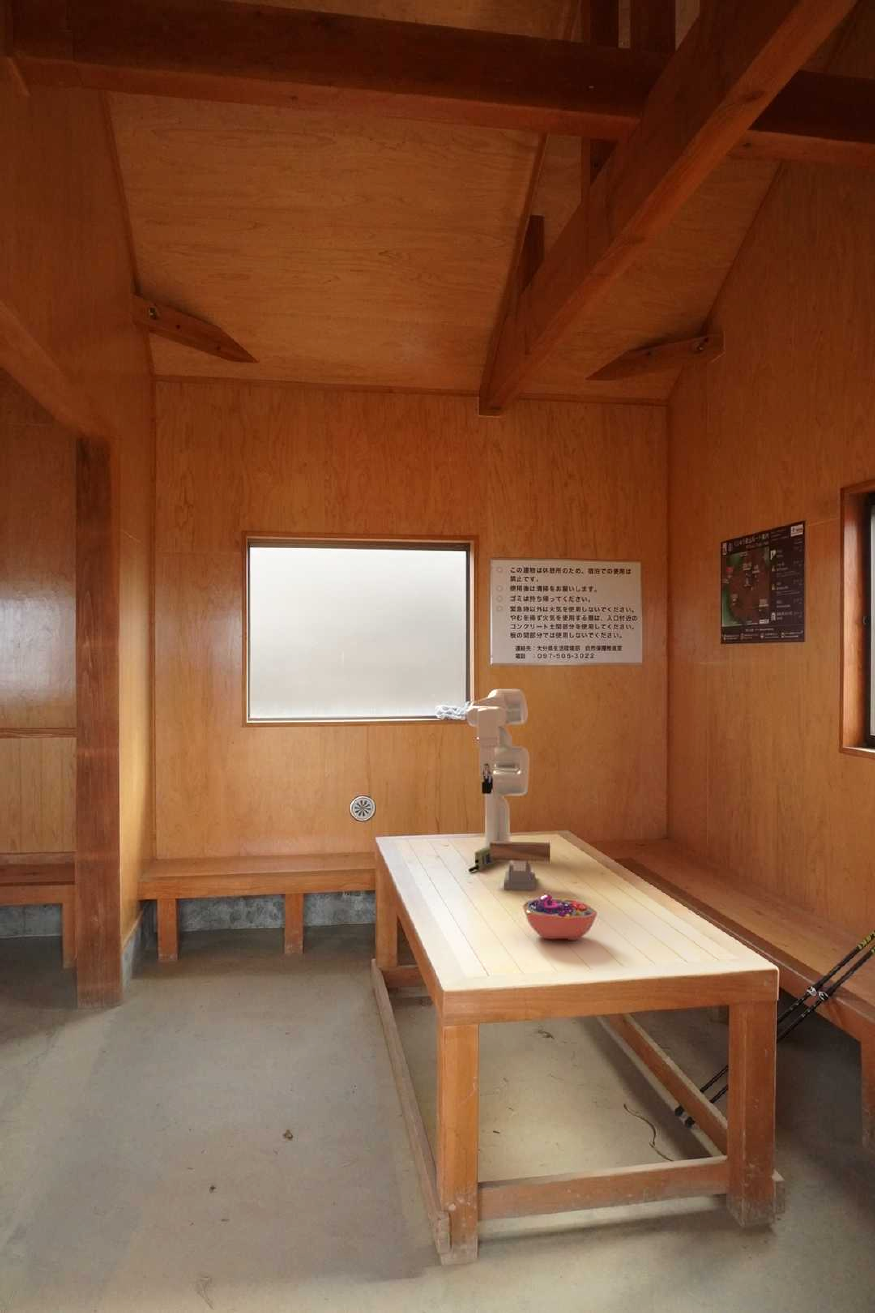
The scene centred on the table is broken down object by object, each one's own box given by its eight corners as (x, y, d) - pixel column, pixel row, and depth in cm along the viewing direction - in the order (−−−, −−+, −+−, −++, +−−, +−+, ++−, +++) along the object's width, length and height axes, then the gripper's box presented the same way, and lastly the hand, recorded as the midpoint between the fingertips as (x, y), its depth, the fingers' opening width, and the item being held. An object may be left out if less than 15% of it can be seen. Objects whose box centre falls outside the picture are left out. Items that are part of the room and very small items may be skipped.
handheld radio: (505, 859, 310) (474, 874, 288) (497, 859, 312) (466, 873, 290) (504, 841, 310) (474, 855, 288) (496, 841, 312) (465, 854, 290)
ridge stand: (506, 876, 284) (506, 853, 284) (535, 877, 283) (535, 854, 283) (503, 889, 269) (503, 865, 269) (534, 890, 267) (534, 866, 267)
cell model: (584, 954, 210) (584, 910, 210) (512, 941, 219) (512, 898, 219) (605, 935, 224) (605, 893, 224) (536, 923, 234) (536, 883, 234)
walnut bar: (490, 857, 279) (490, 841, 279) (550, 859, 277) (550, 842, 277) (489, 859, 276) (489, 843, 276) (550, 861, 273) (550, 845, 273)
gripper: (478, 740, 301) (478, 787, 301) (475, 745, 284) (475, 795, 284) (499, 740, 300) (499, 787, 300) (496, 745, 283) (496, 795, 283)
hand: (487, 791), depth 292 cm, fingers open, 9 cm apart
